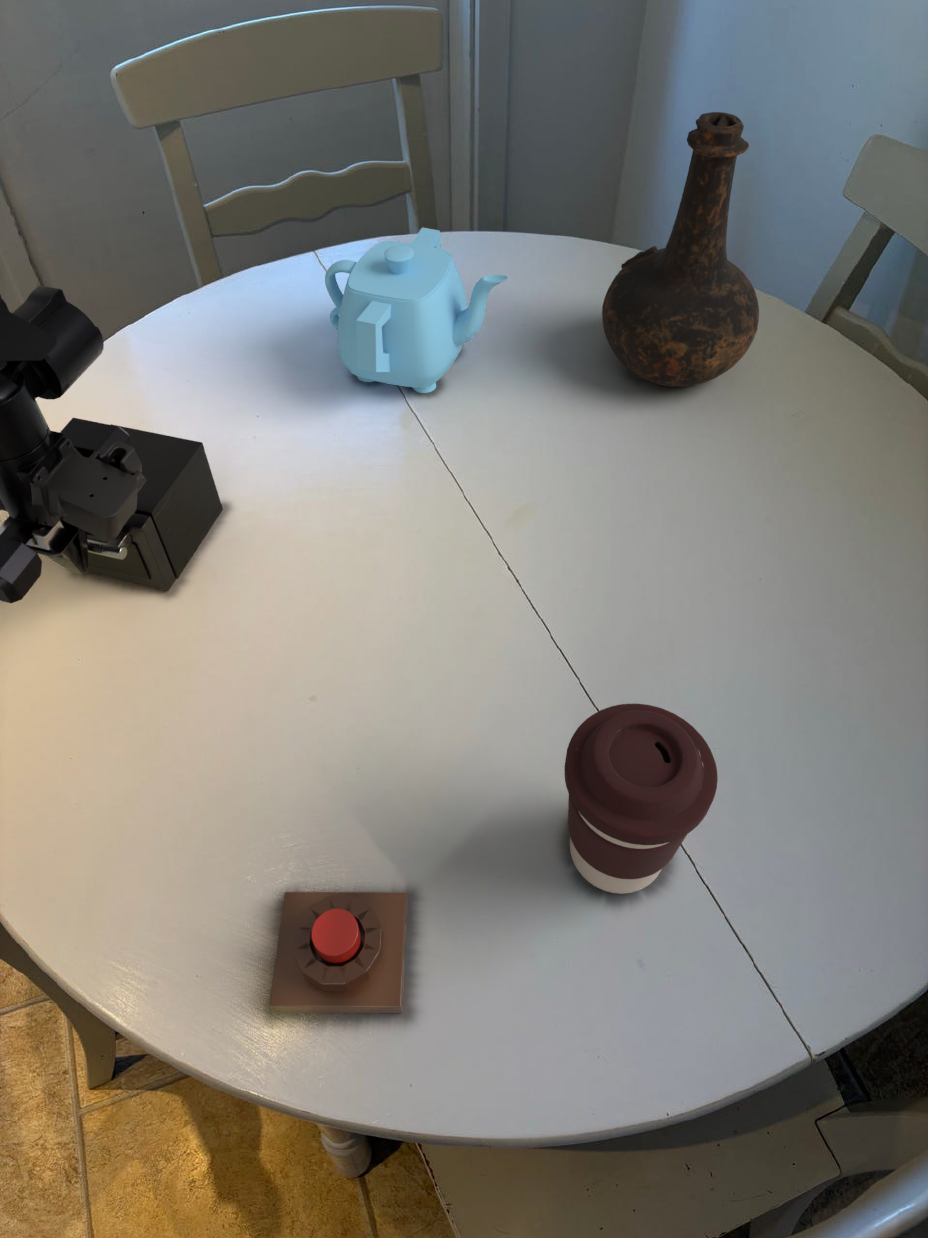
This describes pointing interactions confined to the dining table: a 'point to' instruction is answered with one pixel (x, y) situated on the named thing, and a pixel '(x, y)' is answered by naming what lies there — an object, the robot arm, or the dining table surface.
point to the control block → (351, 984)
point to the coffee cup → (634, 793)
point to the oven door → (132, 555)
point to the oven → (176, 493)
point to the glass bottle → (688, 278)
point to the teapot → (405, 312)
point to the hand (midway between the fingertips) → (81, 571)
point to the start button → (336, 935)
